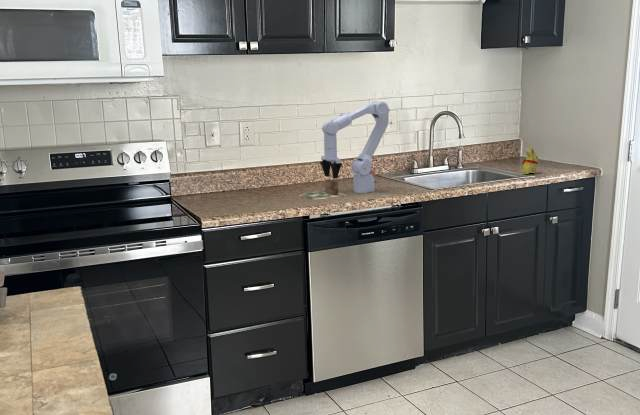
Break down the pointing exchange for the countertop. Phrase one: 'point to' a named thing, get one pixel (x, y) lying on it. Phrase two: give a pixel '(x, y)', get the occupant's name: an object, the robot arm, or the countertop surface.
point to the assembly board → (319, 195)
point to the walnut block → (331, 187)
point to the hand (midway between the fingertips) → (331, 177)
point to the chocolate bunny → (530, 161)
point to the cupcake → (372, 172)
